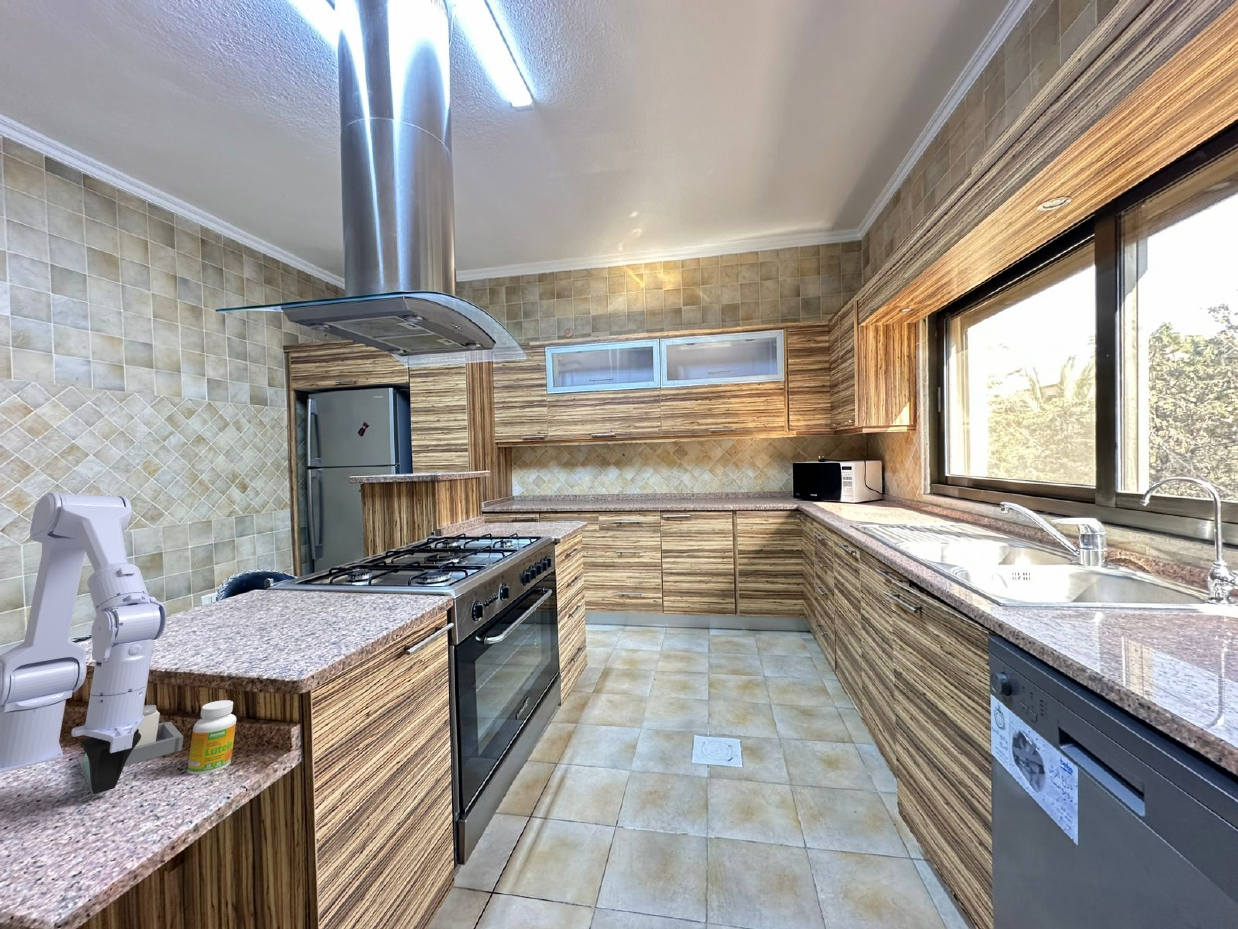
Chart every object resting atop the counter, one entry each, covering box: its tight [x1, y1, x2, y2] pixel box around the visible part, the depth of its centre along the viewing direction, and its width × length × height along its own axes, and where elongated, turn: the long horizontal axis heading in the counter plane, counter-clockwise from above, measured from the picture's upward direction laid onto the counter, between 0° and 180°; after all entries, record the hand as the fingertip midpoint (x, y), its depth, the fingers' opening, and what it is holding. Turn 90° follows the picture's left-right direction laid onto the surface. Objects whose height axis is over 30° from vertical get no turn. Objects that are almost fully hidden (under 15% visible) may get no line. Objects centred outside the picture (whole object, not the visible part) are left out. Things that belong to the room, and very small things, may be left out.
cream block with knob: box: [135, 704, 161, 747], centre depth 80 cm, size 4×4×7 cm
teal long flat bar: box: [83, 752, 91, 782], centre depth 72 cm, size 13×1×3 cm, turn 54°
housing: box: [77, 721, 184, 797], centre depth 77 cm, size 18×11×2 cm, turn 54°
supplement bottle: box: [187, 699, 237, 776], centre depth 77 cm, size 5×5×10 cm
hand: (103, 789), depth 67 cm, fingers closed
